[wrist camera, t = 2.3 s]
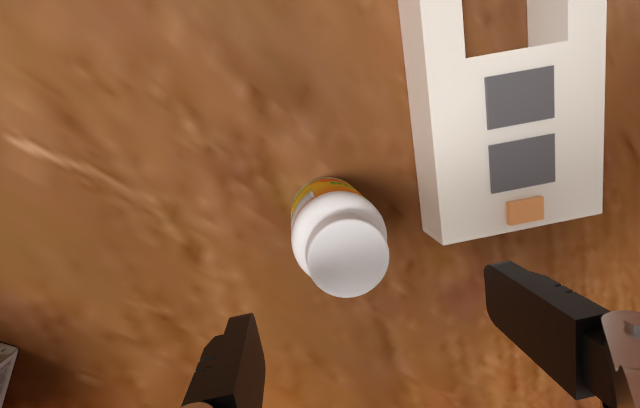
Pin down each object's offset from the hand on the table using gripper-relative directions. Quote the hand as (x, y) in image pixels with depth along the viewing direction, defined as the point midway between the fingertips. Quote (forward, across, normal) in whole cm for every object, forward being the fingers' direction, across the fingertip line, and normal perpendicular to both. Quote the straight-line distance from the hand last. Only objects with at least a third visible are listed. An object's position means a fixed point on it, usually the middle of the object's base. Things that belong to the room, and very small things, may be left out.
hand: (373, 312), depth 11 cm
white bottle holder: (+14, -13, -7) cm, 20 cm away
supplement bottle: (+14, 0, 0) cm, 14 cm away
